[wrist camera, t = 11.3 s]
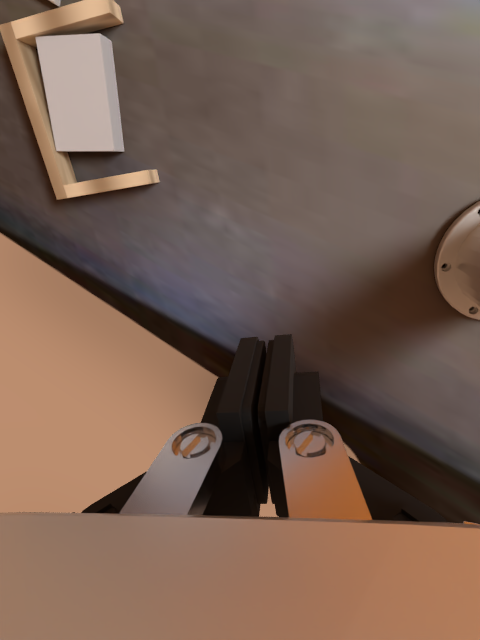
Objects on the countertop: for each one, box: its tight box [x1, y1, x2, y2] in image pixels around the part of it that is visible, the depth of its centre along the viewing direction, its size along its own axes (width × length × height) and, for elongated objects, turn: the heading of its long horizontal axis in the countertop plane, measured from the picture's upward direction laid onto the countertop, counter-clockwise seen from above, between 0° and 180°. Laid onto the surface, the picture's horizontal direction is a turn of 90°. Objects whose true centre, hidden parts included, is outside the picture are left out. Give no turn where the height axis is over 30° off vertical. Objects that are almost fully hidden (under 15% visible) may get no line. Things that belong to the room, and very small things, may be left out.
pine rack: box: [0, 0, 160, 200], centre depth 33 cm, size 10×14×2 cm
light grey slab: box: [35, 33, 124, 152], centre depth 33 cm, size 6×9×2 cm, turn 0°
